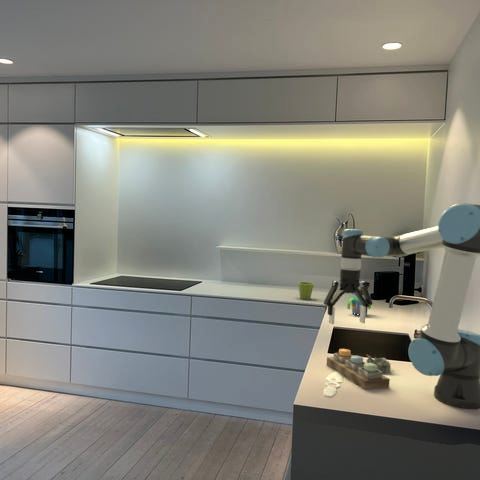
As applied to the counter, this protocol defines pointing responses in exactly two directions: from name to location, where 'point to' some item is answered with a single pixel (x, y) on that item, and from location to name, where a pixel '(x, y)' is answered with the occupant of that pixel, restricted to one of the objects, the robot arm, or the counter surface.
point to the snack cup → (355, 305)
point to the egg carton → (380, 363)
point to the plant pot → (305, 290)
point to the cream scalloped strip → (330, 390)
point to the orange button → (344, 353)
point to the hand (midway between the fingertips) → (346, 323)
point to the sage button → (370, 367)
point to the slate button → (356, 360)
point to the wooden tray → (357, 373)
